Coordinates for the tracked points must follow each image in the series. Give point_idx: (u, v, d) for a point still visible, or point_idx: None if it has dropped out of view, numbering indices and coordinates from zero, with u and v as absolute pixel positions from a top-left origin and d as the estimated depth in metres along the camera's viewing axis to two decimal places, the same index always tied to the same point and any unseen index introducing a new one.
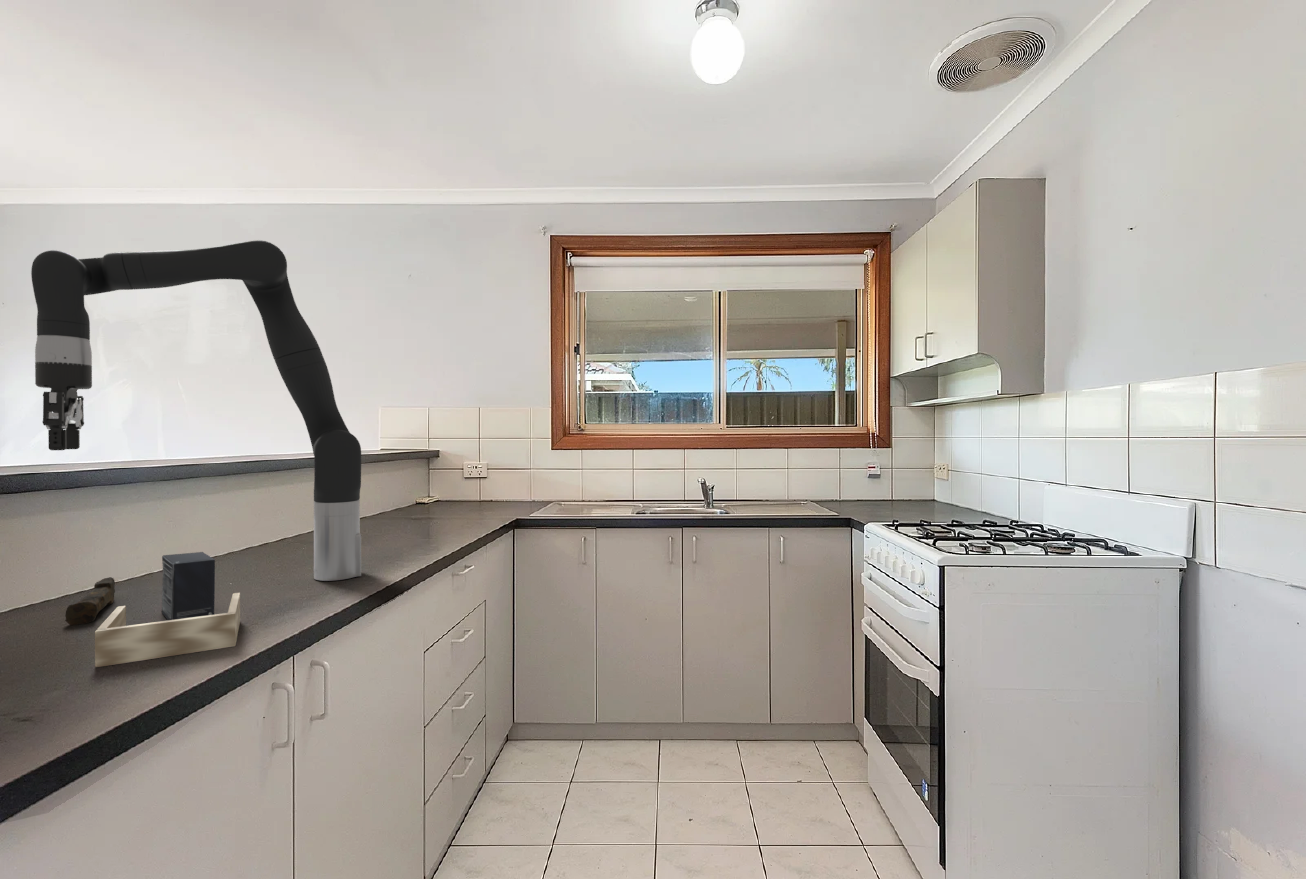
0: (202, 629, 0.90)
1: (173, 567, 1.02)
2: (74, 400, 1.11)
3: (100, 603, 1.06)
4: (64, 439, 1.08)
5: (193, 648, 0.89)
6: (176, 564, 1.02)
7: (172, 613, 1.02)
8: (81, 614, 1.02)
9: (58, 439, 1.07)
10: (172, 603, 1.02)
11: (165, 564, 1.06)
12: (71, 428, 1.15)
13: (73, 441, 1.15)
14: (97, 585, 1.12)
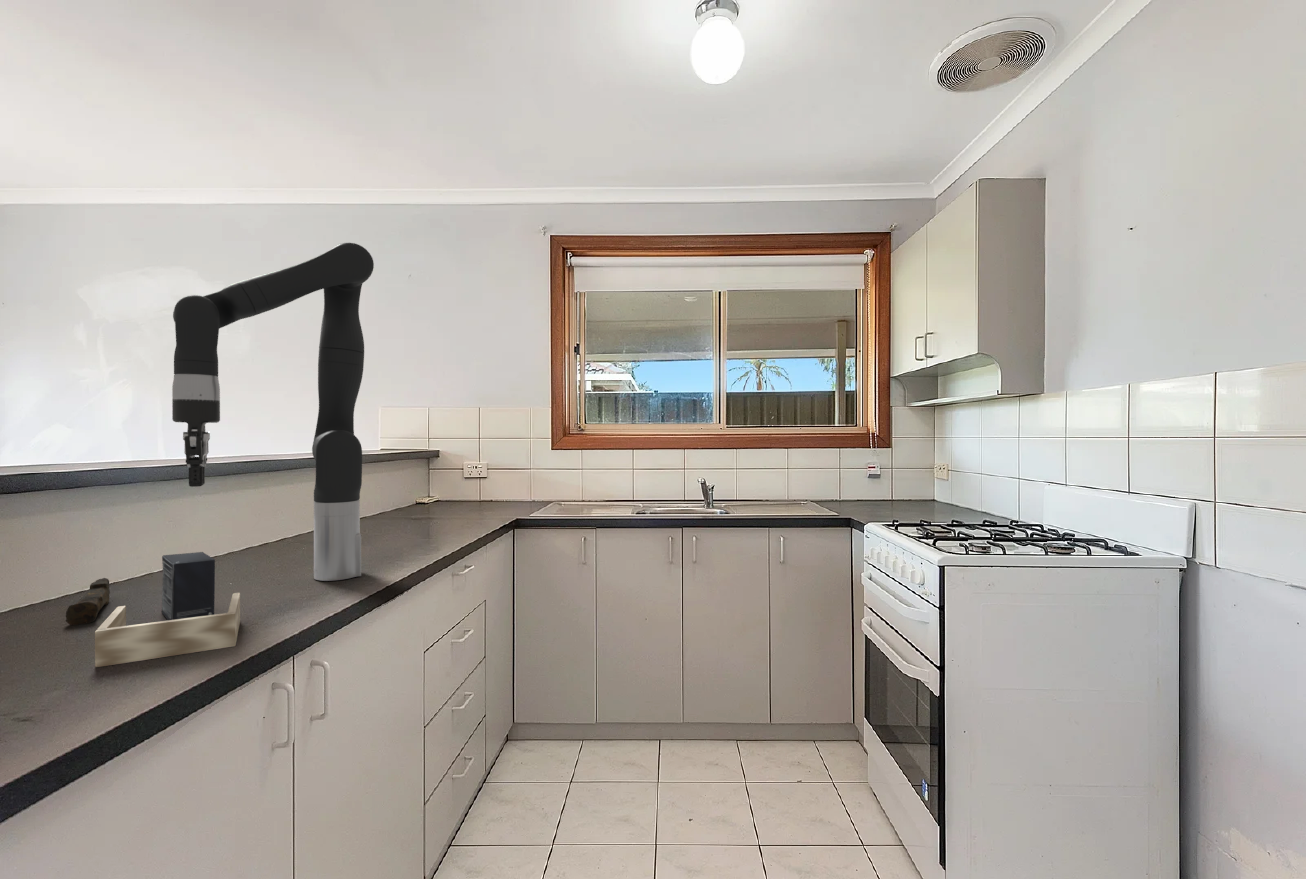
0: (202, 629, 0.90)
1: (173, 567, 1.02)
2: (206, 435, 1.18)
3: (99, 603, 1.06)
4: (202, 476, 1.18)
5: (193, 648, 0.89)
6: (176, 564, 1.02)
7: (172, 613, 1.02)
8: (82, 614, 1.02)
9: (197, 476, 1.17)
10: (172, 603, 1.02)
11: (165, 564, 1.06)
12: None
13: None
14: (93, 586, 1.12)
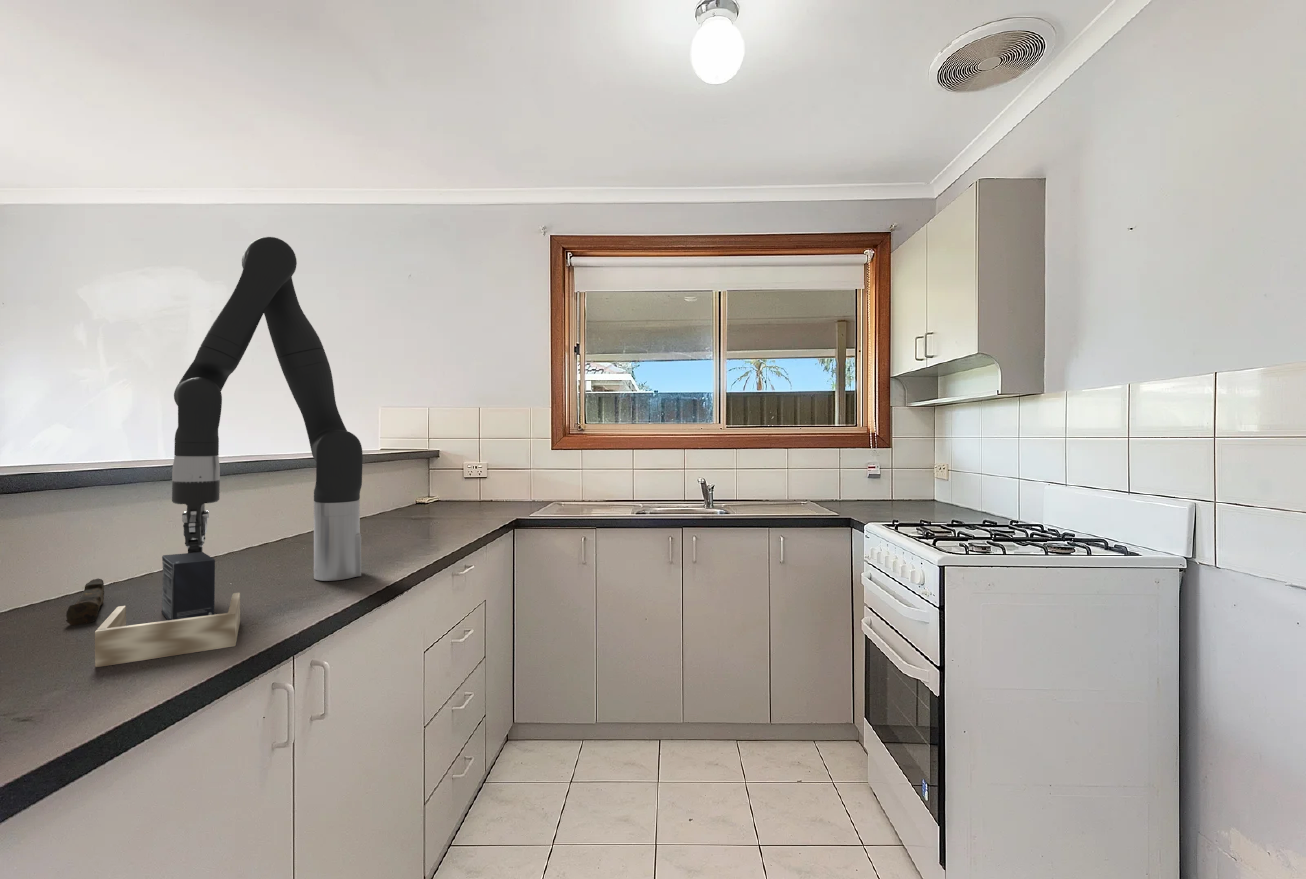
0: (202, 629, 0.90)
1: (173, 567, 1.02)
2: (205, 517, 1.18)
3: (98, 603, 1.06)
4: None
5: (193, 648, 0.89)
6: (176, 564, 1.02)
7: (172, 613, 1.02)
8: (83, 614, 1.02)
9: None
10: (172, 603, 1.02)
11: (165, 564, 1.06)
12: None
13: None
14: (88, 586, 1.12)
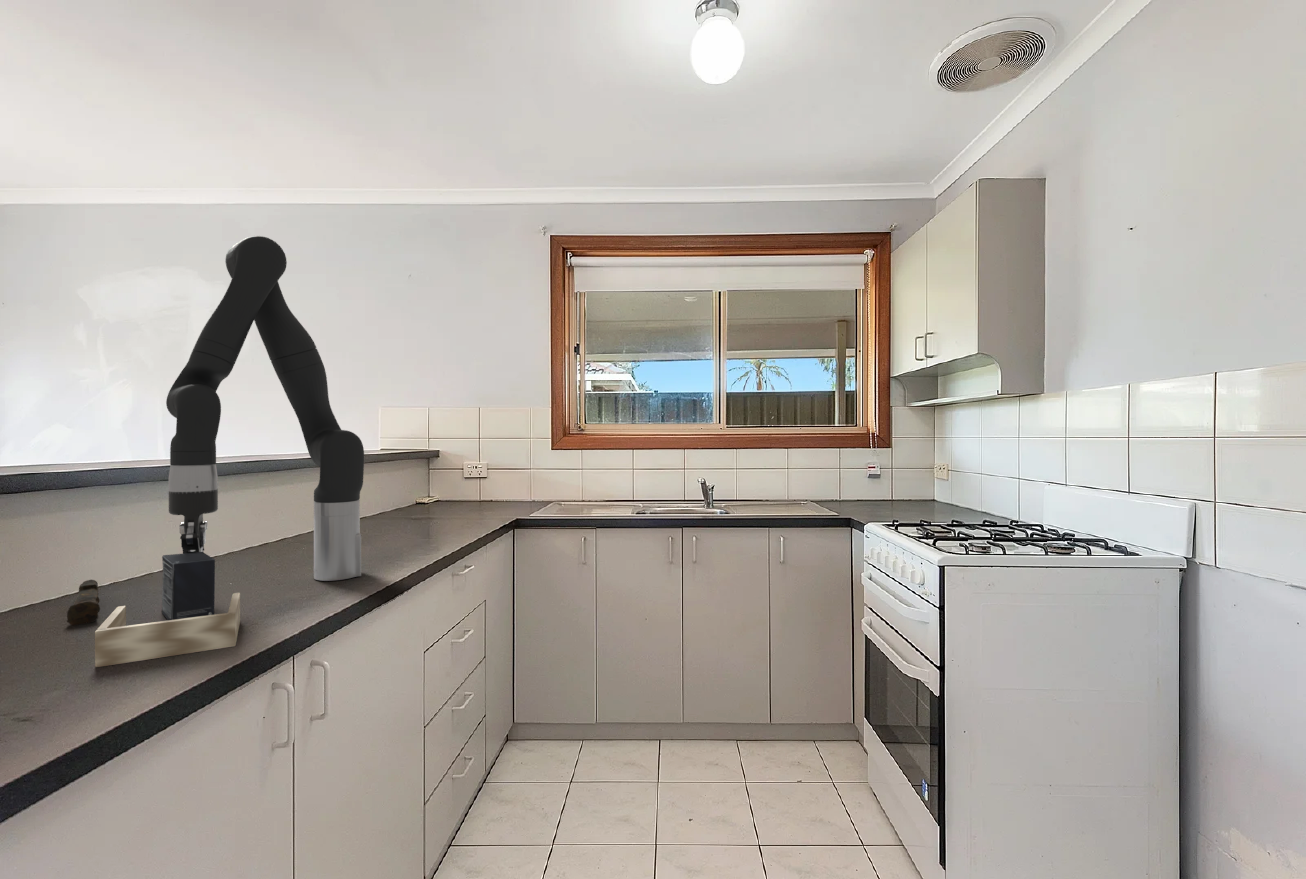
0: (202, 629, 0.90)
1: (173, 567, 1.02)
2: (204, 528, 1.15)
3: None
4: None
5: (193, 648, 0.89)
6: (176, 564, 1.02)
7: (172, 613, 1.02)
8: (84, 614, 1.02)
9: None
10: (172, 603, 1.02)
11: (165, 564, 1.06)
12: None
13: None
14: (83, 587, 1.11)
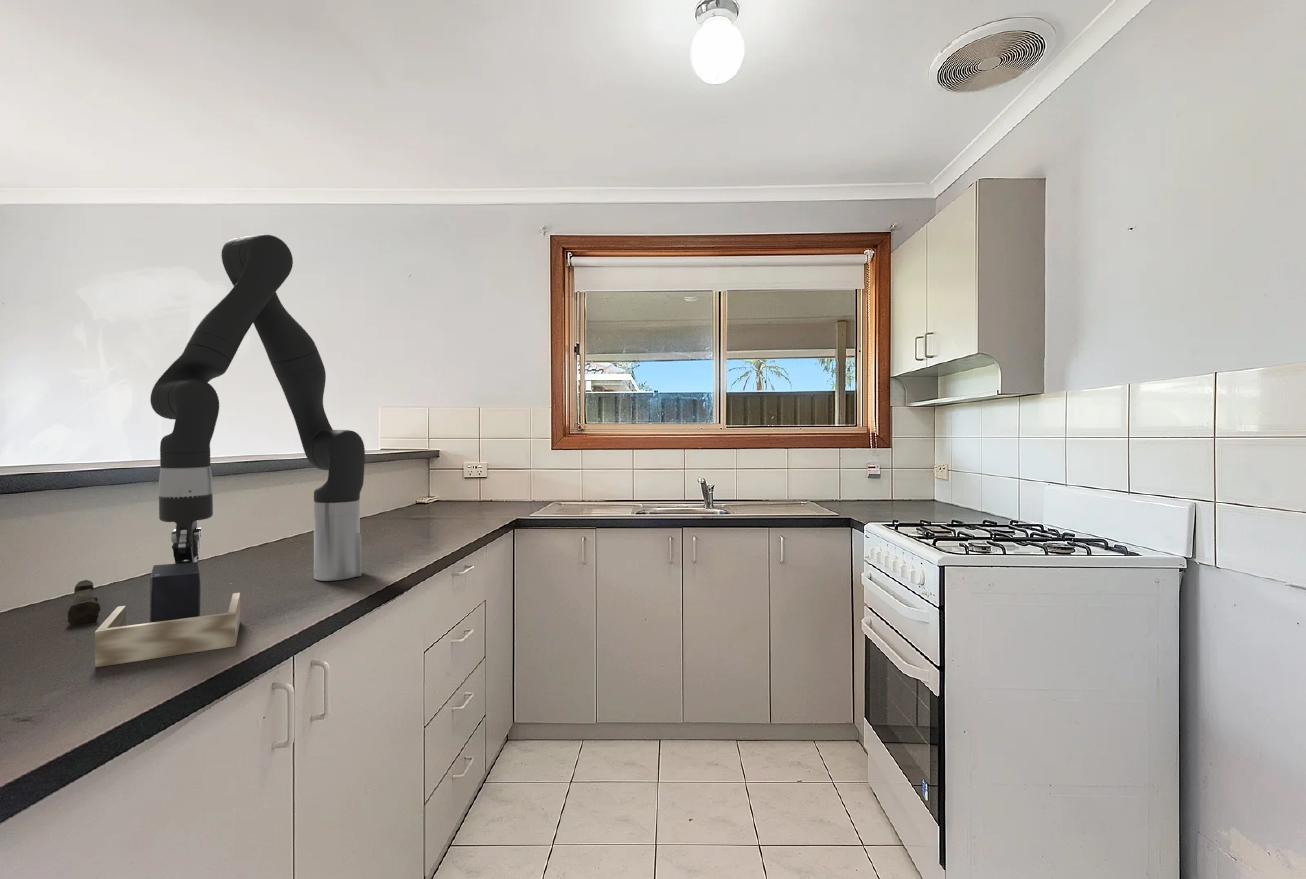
0: (202, 629, 0.90)
1: (151, 580, 0.92)
2: (198, 535, 1.06)
3: None
4: None
5: (193, 648, 0.89)
6: (155, 577, 0.93)
7: None
8: (85, 613, 1.02)
9: None
10: (150, 620, 0.92)
11: None
12: None
13: None
14: (79, 587, 1.11)
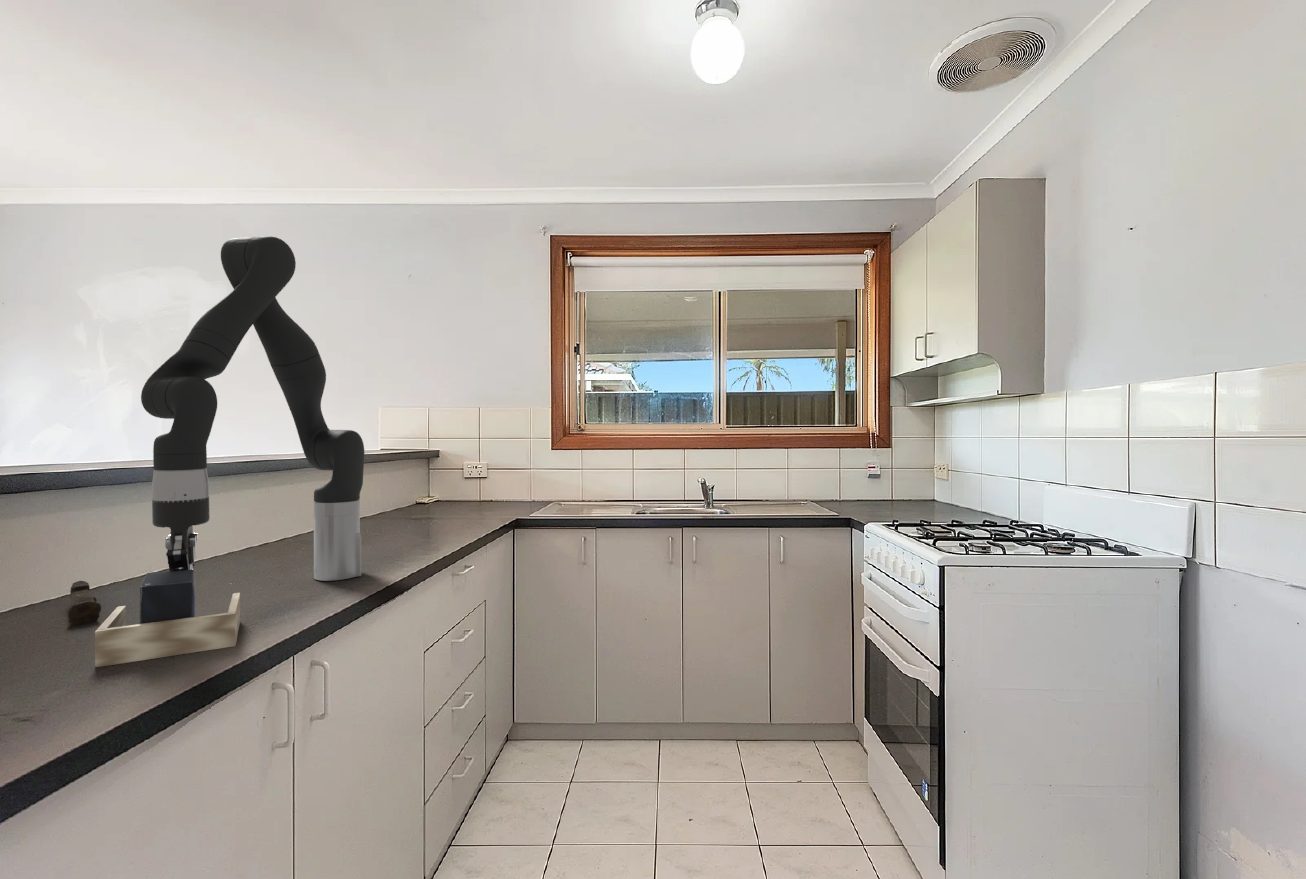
0: (202, 629, 0.90)
1: (141, 590, 0.87)
2: (193, 541, 1.00)
3: None
4: None
5: (193, 648, 0.89)
6: (145, 587, 0.87)
7: None
8: (86, 613, 1.02)
9: None
10: None
11: None
12: None
13: None
14: (75, 588, 1.10)
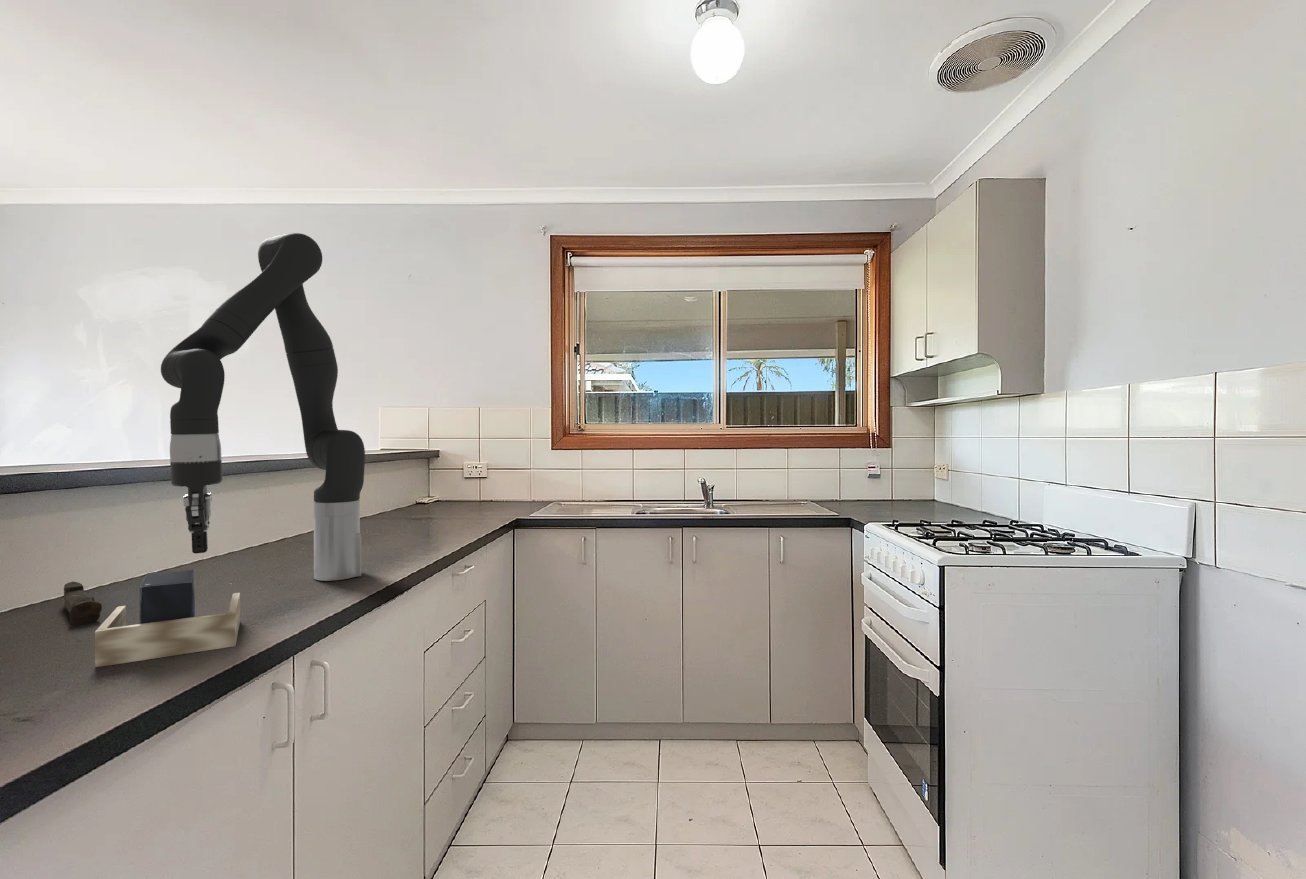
0: (202, 629, 0.90)
1: (141, 591, 0.87)
2: (209, 499, 1.10)
3: None
4: (206, 541, 1.11)
5: (193, 648, 0.89)
6: (144, 587, 0.87)
7: None
8: (87, 613, 1.02)
9: (201, 542, 1.10)
10: None
11: None
12: None
13: None
14: (69, 589, 1.10)
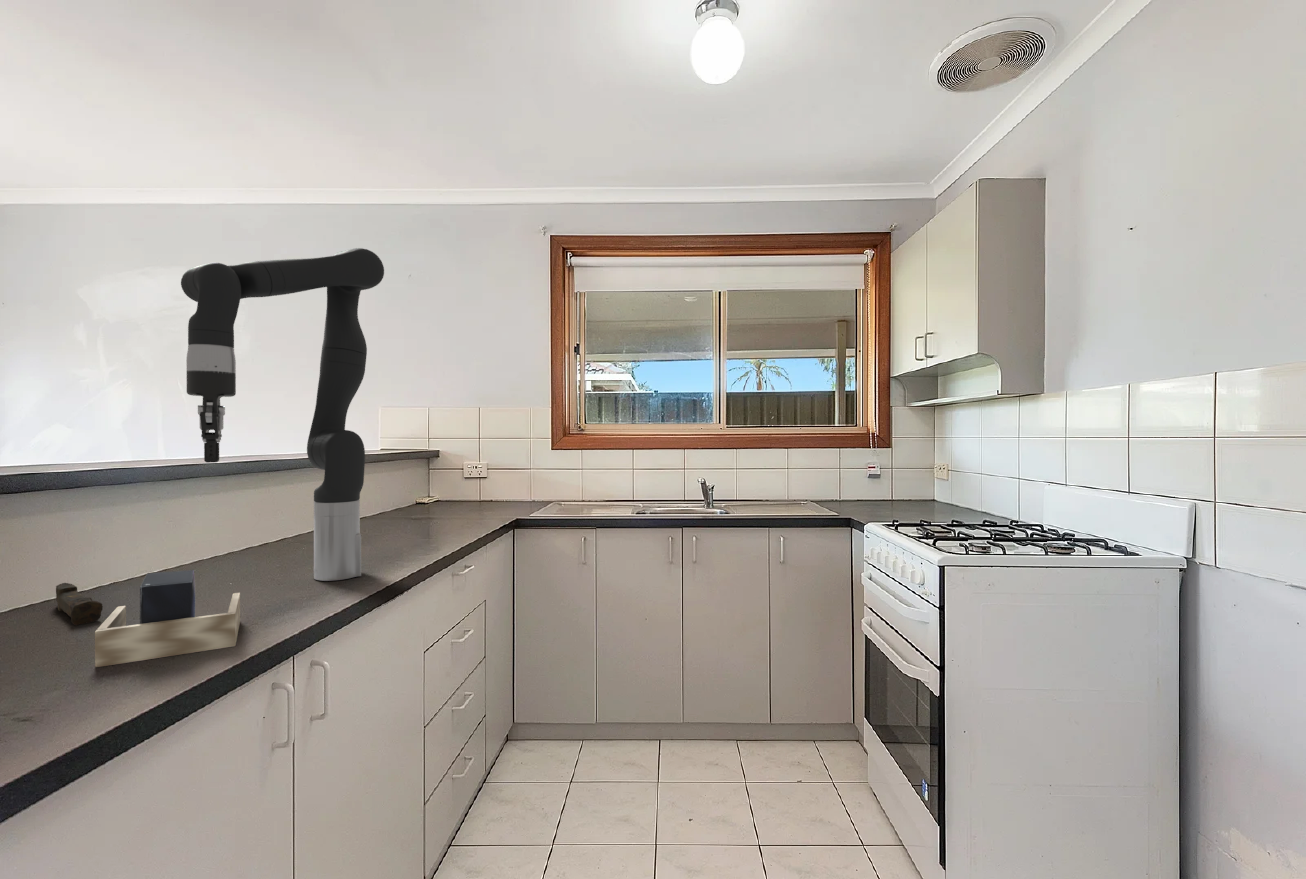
0: (202, 629, 0.90)
1: (141, 591, 0.87)
2: (222, 410, 1.13)
3: None
4: (217, 452, 1.14)
5: (193, 648, 0.89)
6: (145, 587, 0.87)
7: None
8: (88, 613, 1.02)
9: (213, 452, 1.13)
10: None
11: None
12: None
13: None
14: (63, 590, 1.09)
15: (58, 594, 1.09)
